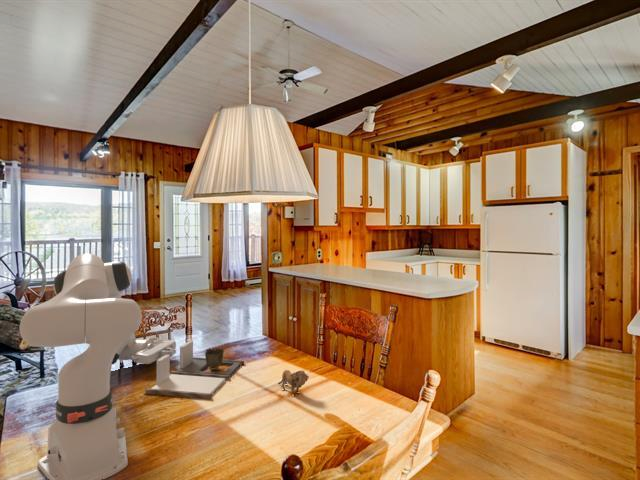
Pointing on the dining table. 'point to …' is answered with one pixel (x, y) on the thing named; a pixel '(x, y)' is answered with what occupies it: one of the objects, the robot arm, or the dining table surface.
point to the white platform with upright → (183, 380)
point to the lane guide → (190, 394)
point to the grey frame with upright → (199, 362)
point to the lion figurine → (294, 379)
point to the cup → (214, 358)
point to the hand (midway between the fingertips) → (174, 352)
